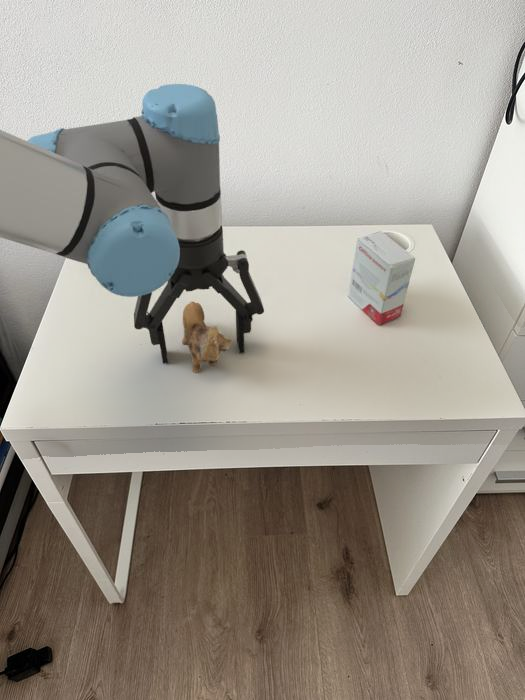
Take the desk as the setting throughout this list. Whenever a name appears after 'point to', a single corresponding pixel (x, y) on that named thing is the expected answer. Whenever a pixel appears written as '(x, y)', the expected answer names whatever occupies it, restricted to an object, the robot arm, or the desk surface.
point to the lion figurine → (202, 337)
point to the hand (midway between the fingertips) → (203, 351)
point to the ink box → (380, 277)
